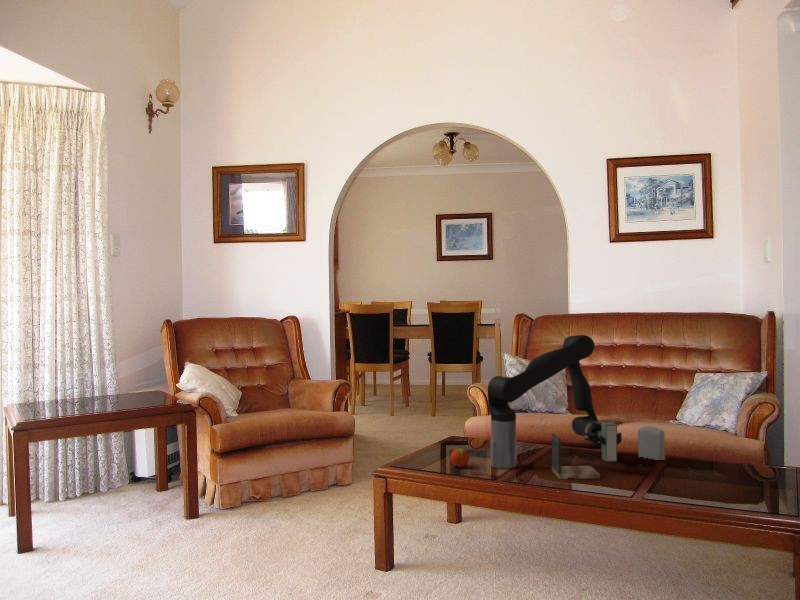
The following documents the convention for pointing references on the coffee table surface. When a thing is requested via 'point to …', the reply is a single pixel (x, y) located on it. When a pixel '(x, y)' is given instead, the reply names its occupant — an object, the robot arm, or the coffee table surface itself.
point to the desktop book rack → (569, 471)
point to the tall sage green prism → (609, 441)
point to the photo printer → (651, 443)
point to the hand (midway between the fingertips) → (611, 441)
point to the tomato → (459, 457)
